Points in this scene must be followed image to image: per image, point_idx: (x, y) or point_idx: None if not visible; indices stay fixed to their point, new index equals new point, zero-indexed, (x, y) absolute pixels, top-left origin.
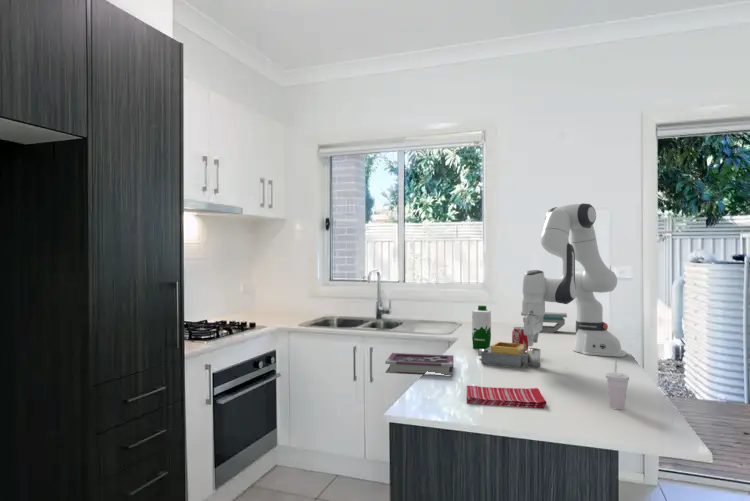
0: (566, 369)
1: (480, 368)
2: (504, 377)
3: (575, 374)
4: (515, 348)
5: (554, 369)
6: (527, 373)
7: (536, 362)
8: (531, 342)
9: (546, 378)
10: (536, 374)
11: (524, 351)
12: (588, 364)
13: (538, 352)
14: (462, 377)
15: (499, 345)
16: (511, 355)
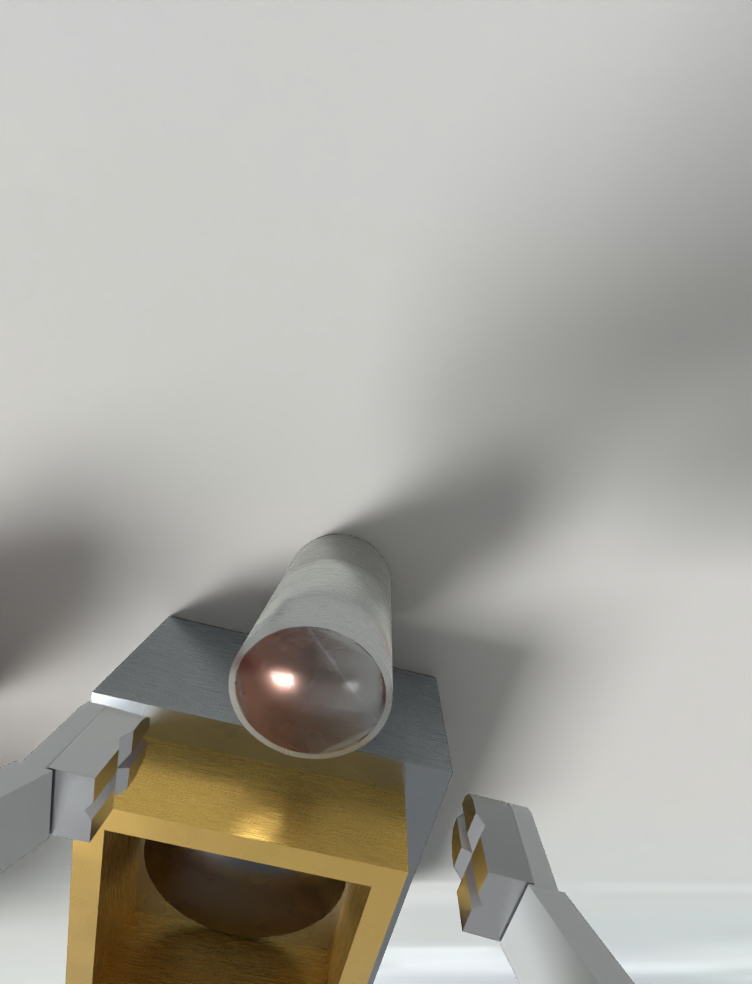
0: (373, 309)
1: None
2: (732, 780)
3: (568, 241)
4: (400, 888)
5: (404, 424)
6: (594, 641)
7: (389, 590)
8: (547, 889)
9: (746, 519)
10: (618, 582)
11: (210, 728)
12: (39, 5)
13: (373, 630)
14: (746, 966)
15: (116, 945)
16: (425, 832)
